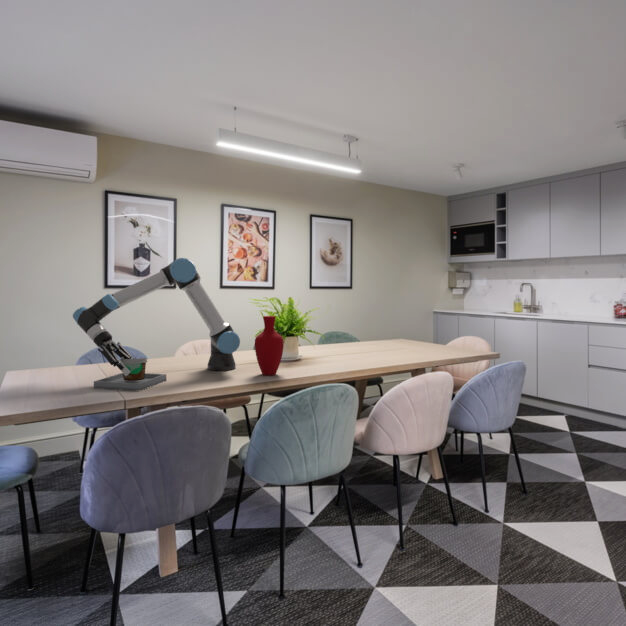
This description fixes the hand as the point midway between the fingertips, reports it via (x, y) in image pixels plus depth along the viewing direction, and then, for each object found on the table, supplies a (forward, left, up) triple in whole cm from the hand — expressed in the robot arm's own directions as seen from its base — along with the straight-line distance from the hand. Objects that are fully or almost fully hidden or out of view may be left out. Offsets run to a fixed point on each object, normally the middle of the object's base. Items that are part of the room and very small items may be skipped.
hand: (132, 372), depth 201 cm
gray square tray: (+1, 0, -5) cm, 5 cm away
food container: (+1, 0, -4) cm, 4 cm away
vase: (-53, -37, -6) cm, 65 cm away
